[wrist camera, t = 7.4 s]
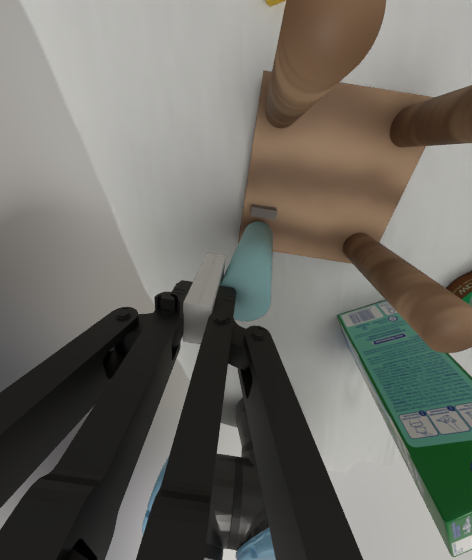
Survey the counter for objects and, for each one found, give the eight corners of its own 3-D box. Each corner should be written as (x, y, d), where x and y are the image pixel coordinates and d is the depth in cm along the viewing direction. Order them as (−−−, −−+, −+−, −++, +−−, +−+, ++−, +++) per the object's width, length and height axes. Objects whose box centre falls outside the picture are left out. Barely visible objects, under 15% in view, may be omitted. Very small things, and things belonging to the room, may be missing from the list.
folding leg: (269, 252, 27) (264, 325, 15) (241, 247, 28) (214, 315, 16) (276, 224, 26) (276, 281, 13) (245, 218, 26) (219, 270, 14)
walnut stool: (356, 261, 33) (463, 371, 16) (238, 242, 33) (220, 333, 16) (427, 105, 24) (851, -21, 7) (262, 80, 24) (281, -112, 7)
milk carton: (401, 335, 39) (585, 559, 17) (349, 349, 42) (452, 559, 20) (393, 297, 35) (613, 519, 14) (336, 314, 38) (446, 526, 16)
